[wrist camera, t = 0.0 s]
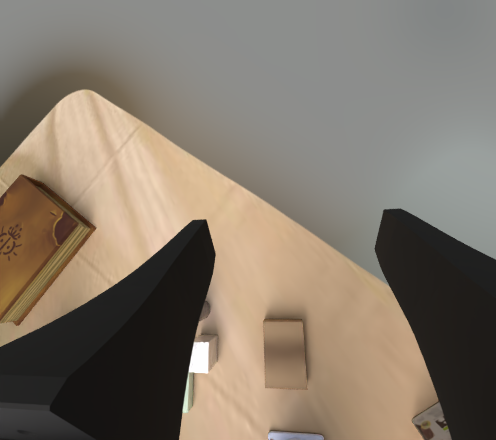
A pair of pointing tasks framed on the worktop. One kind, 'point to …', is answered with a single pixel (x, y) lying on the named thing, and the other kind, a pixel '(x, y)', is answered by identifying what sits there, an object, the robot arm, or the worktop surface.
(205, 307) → the steel pin
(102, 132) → the worktop surface
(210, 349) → the block
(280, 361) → the brown rectangular block
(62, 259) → the diary
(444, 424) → the coffee box
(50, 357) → the robot arm
